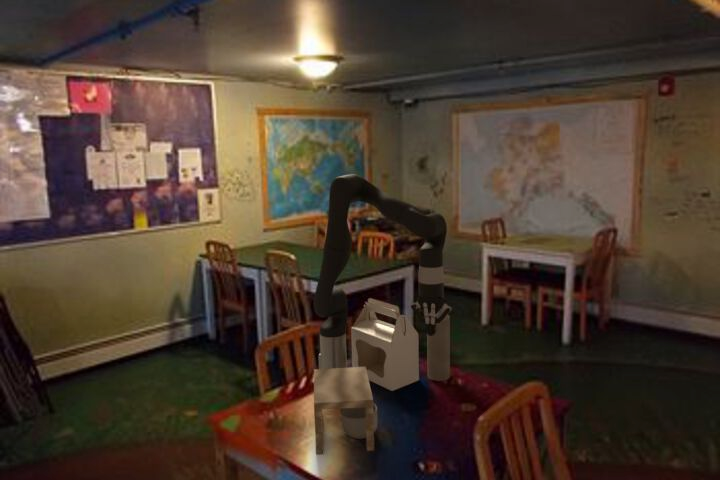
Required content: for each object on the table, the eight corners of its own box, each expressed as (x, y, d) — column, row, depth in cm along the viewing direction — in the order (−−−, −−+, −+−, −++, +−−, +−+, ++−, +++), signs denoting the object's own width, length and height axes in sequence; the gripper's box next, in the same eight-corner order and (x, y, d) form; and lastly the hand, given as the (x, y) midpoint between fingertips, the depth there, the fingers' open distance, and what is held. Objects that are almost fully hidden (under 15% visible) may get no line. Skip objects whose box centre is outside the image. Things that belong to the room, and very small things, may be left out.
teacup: (374, 444, 156) (373, 418, 155) (336, 441, 159) (335, 415, 157) (382, 420, 170) (381, 396, 169) (347, 418, 172) (347, 393, 171)
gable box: (351, 372, 207) (349, 299, 202) (378, 363, 215) (376, 292, 210) (392, 391, 190) (391, 312, 185) (419, 380, 198) (419, 304, 193)
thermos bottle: (427, 371, 205) (426, 298, 200) (449, 372, 204) (449, 298, 200) (427, 380, 197) (427, 304, 193) (450, 381, 196) (450, 304, 192)
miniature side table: (366, 411, 176) (365, 366, 174) (374, 450, 153) (373, 399, 151) (316, 414, 175) (314, 369, 172) (316, 454, 152) (313, 403, 150)
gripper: (406, 281, 167) (406, 336, 170) (448, 284, 162) (448, 341, 165) (414, 275, 174) (415, 328, 177) (455, 279, 168) (455, 333, 171)
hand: (431, 334), depth 171 cm, fingers closed
